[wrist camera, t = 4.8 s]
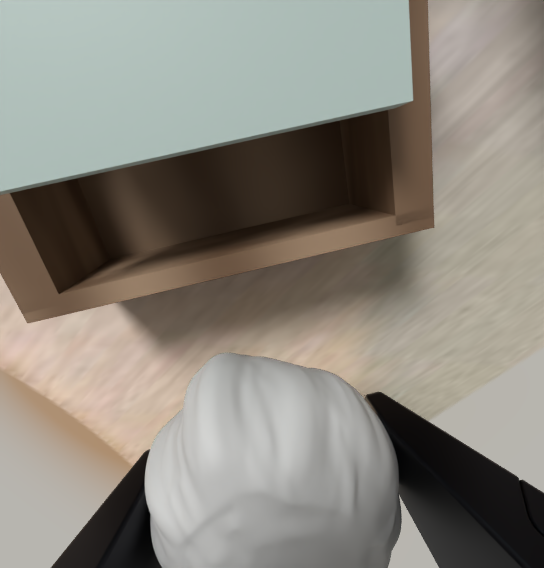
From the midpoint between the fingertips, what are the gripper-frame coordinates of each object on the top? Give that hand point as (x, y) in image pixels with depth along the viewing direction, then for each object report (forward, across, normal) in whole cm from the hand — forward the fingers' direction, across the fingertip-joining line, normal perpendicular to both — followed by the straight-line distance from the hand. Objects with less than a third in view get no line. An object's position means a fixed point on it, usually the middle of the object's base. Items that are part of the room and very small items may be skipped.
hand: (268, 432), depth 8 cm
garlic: (+1, 0, 0) cm, 1 cm away
